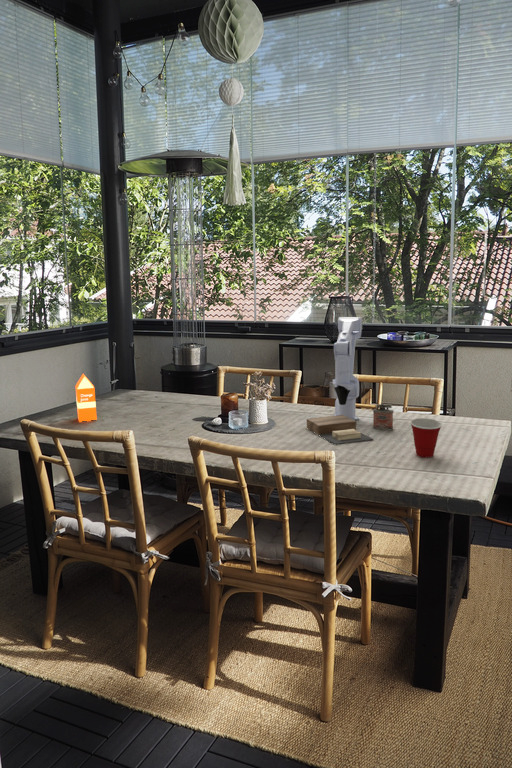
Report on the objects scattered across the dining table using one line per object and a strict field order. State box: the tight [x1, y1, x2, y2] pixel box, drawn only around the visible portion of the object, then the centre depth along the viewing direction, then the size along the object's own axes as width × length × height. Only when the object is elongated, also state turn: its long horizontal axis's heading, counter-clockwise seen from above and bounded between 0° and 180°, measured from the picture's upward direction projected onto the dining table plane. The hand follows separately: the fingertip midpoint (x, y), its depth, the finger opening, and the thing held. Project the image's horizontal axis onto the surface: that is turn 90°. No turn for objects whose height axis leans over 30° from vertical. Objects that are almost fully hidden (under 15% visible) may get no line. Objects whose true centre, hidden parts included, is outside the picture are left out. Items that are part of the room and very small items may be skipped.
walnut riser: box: [306, 415, 357, 436], centre depth 266 cm, size 12×16×4 cm
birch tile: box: [332, 429, 362, 440], centre depth 254 cm, size 6×9×2 cm, turn 108°
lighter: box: [372, 403, 394, 431], centre depth 266 cm, size 8×3×10 cm, turn 70°
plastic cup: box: [409, 417, 443, 459], centre depth 229 cm, size 11×11×12 cm
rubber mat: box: [318, 431, 374, 445], centre depth 255 cm, size 14×16×1 cm
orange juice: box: [74, 373, 98, 423], centre depth 292 cm, size 8×9×20 cm
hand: (342, 404), depth 269 cm, fingers closed
